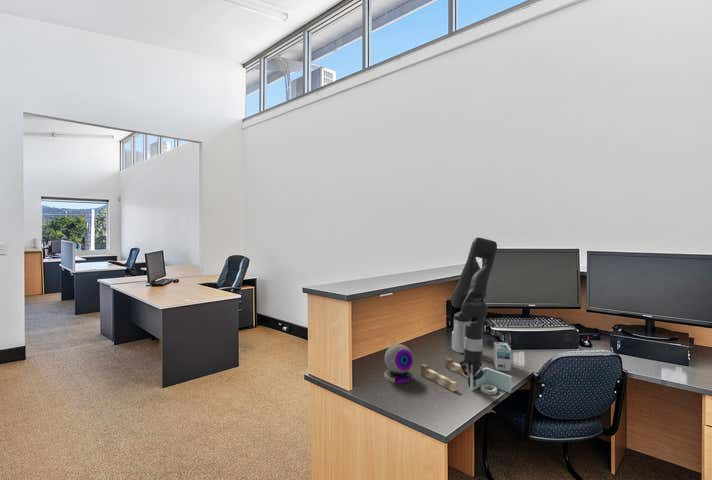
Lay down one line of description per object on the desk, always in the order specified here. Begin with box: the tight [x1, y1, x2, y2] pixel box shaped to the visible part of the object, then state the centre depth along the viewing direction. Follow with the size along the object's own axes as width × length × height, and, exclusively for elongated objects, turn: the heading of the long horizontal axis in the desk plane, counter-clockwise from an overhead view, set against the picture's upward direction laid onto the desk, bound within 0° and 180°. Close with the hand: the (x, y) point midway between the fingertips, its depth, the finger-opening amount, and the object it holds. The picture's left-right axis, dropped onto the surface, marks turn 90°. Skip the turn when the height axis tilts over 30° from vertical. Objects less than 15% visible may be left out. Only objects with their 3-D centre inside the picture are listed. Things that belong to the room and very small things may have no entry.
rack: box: [420, 357, 468, 392], centre depth 170 cm, size 20×18×4 cm
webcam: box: [383, 343, 414, 384], centre depth 170 cm, size 13×13×15 cm
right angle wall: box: [469, 366, 513, 395], centre depth 157 cm, size 12×12×8 cm
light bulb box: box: [493, 341, 512, 372], centre depth 184 cm, size 11×7×11 cm, turn 168°
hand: (471, 387), depth 160 cm, fingers closed
